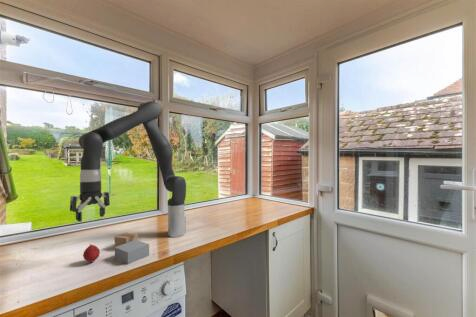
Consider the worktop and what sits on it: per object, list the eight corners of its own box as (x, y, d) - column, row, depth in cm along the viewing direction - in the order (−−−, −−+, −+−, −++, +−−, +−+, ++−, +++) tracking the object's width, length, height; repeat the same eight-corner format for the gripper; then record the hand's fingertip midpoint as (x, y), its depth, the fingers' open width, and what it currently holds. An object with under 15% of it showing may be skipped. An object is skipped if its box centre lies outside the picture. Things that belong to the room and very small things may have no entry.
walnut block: (126, 243, 114) (126, 232, 114) (137, 245, 112) (137, 233, 112) (114, 249, 108) (114, 236, 108) (126, 250, 106) (126, 238, 106)
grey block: (135, 250, 106) (135, 239, 106) (149, 255, 100) (149, 244, 100) (114, 258, 97) (114, 247, 97) (128, 264, 92) (127, 252, 92)
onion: (102, 259, 97) (102, 240, 97) (94, 265, 91) (94, 246, 91) (89, 259, 97) (88, 241, 97) (80, 265, 91) (79, 246, 91)
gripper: (103, 178, 102) (103, 214, 102) (66, 181, 90) (67, 221, 90) (112, 179, 98) (112, 216, 98) (75, 182, 86) (75, 224, 86)
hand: (90, 218), depth 94 cm, fingers open, 8 cm apart
